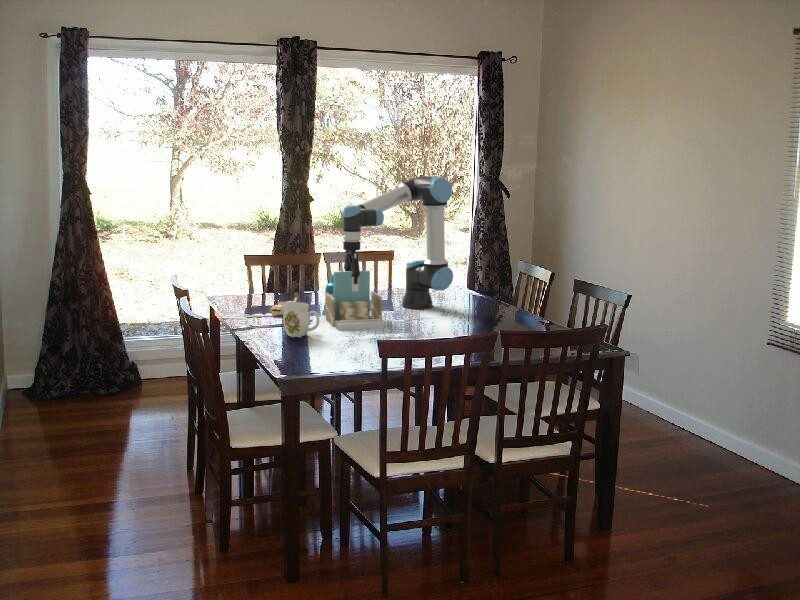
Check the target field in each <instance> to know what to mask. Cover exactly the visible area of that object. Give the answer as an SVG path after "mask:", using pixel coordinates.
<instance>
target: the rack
mask: <svg viewBox="0 0 800 600" xmlns="http://www.w3.org/2000/svg"><path fill="white" fill-rule="evenodd" d="M368 319H381V321H383V297H382V295H379V294H378V293H376V292H375V291H374V290H373V291H372V290H371V291H370V314H369V317H368ZM325 321H326V322H328V323H329V324H330V325H331V326H332V327H335V321H339V319H335V299H334V298H333V297H332V296H331V295H330V294H329V293H326V306H325Z"/></svg>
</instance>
